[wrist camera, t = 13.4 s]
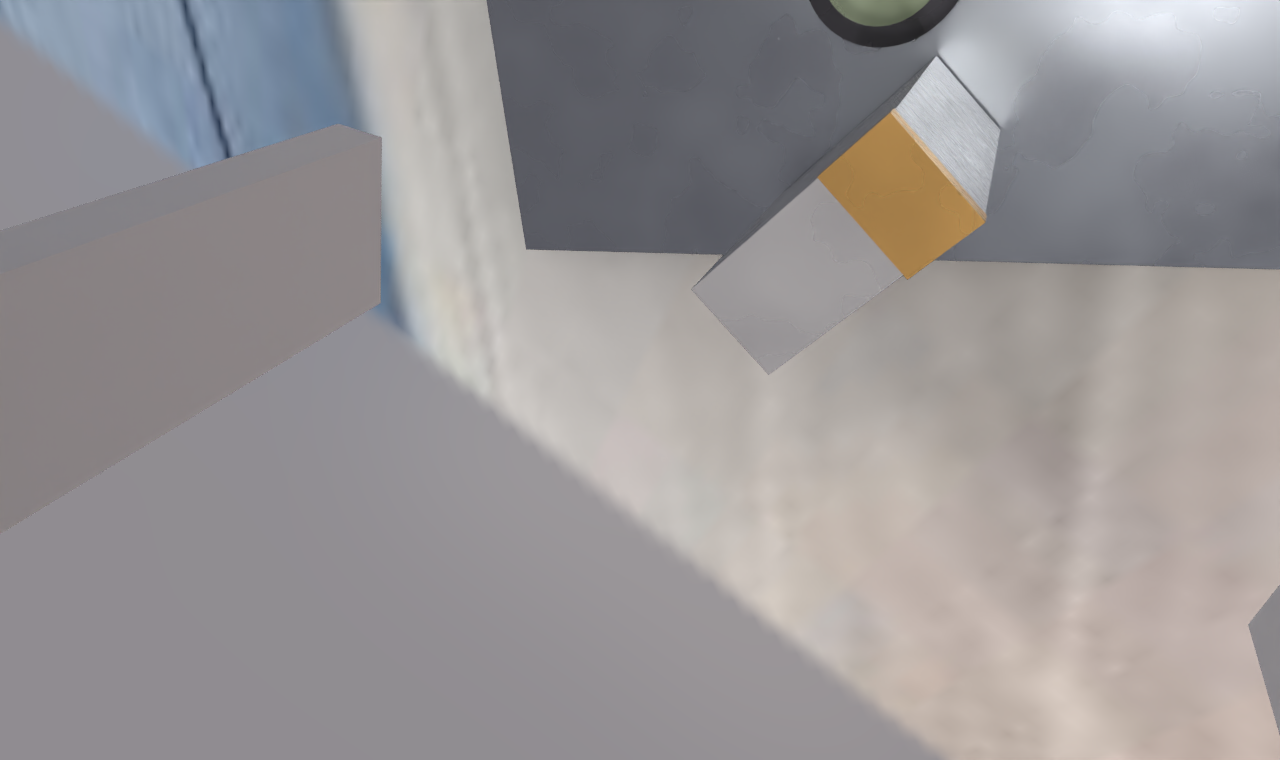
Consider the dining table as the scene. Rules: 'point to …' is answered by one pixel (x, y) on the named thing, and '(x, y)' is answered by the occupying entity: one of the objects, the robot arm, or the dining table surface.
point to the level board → (862, 81)
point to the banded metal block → (858, 219)
